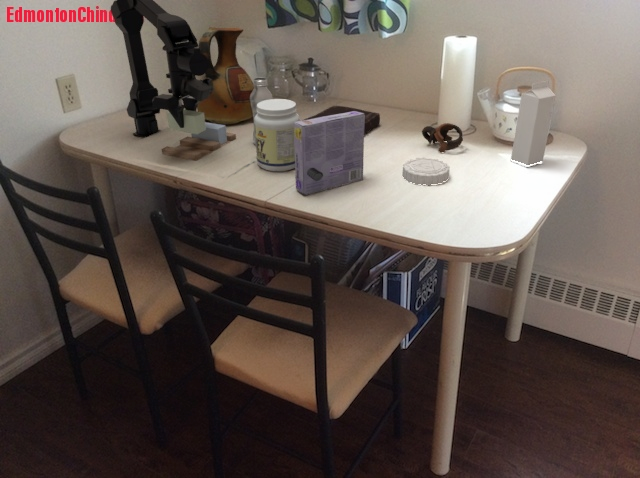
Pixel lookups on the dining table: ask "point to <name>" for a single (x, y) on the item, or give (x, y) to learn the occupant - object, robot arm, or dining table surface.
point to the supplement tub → (275, 134)
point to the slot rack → (195, 147)
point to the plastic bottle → (259, 97)
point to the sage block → (188, 122)
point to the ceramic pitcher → (225, 80)
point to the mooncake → (425, 171)
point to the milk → (533, 124)
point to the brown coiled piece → (443, 136)
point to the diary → (370, 117)
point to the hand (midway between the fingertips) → (186, 125)
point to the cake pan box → (329, 151)
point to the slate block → (213, 133)
